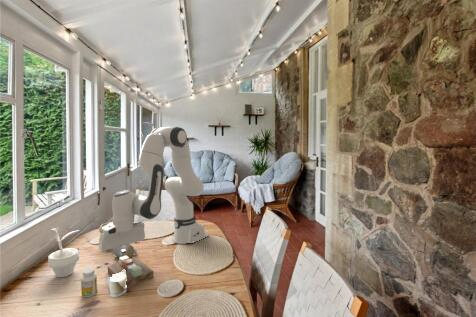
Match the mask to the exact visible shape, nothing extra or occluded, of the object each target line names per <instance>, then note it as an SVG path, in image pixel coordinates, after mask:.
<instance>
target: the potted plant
mask: <svg viewBox="0 0 476 317" xmlns="http://www.w3.org/2000/svg"><path fill="white" fill-rule="evenodd" d="M60 229H61V228H60V227H59V226H58V224H57V225H56V227H54V228H50V231H53V232H54V233H55V234H54V236H53V238H54V239H55V241H56V242H58V243H57V244H58V247H59V250H56V251H54V252H51V253H50V254H49V255H48V256H47V257H48V258H47V260H48V267H49V268H50V269H52V271H53V273H54V275H55V276H56V277H57V278H65V277H68V276H71V275H72V273H73V272H74V270H75V267H76V265H77V262H78V261H79V260H80V251H79V250H78V248H74V247H67V248H64V247H63V243H62V241H63V240H65V239H66V238H68V237H69V236H71V235H73V234H74V233H77V232H80V231H81V229H78V230H73V231H69V232H68V233H67V234H65V235H63V236H61V235H59V230H60Z"/></svg>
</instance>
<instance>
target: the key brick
mask: <svg viewBox="0 0 476 317" xmlns="http://www.w3.org/2000/svg"><path fill="white" fill-rule="evenodd" d="M131 264H133V260H131V259H130V258H129V259H127V260H124V261H123V268H124V269H125V270H127V266H129V265H131Z"/></svg>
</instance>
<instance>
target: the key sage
mask: <svg viewBox="0 0 476 317" xmlns="http://www.w3.org/2000/svg"><path fill="white" fill-rule="evenodd" d="M131 275H132V276H133V277H134V278H135V277H137V276H140V275H142V268H141V267H140V266H139V265H138V266H135V267H133V268H131Z"/></svg>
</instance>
